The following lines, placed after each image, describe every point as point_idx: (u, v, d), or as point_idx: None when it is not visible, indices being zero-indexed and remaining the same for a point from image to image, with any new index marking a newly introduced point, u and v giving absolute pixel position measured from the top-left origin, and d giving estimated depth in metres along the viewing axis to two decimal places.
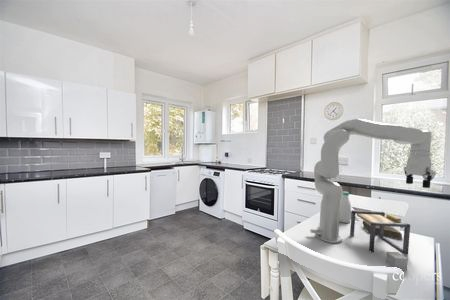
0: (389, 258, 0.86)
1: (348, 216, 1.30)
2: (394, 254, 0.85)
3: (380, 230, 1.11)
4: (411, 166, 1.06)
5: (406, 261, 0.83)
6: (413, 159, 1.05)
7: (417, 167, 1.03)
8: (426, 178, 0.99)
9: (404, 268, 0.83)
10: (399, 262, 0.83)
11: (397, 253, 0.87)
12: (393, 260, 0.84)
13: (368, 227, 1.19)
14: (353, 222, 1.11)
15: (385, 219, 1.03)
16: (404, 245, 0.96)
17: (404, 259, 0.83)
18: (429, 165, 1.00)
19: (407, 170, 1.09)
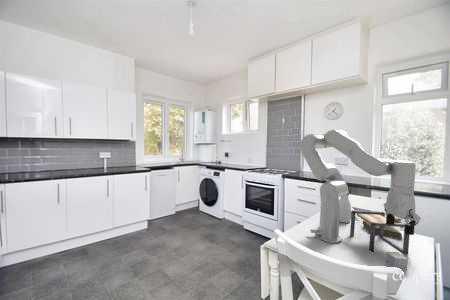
0: (389, 258, 0.86)
1: (348, 216, 1.30)
2: (394, 254, 0.85)
3: (380, 230, 1.11)
4: (391, 204, 0.86)
5: (406, 261, 0.83)
6: (394, 196, 0.84)
7: (398, 207, 0.82)
8: (409, 223, 0.79)
9: (404, 268, 0.83)
10: (399, 262, 0.83)
11: (397, 253, 0.87)
12: (393, 260, 0.84)
13: (368, 227, 1.19)
14: (353, 222, 1.11)
15: (385, 219, 1.03)
16: (404, 245, 0.96)
17: (404, 259, 0.83)
18: (413, 206, 0.79)
19: (387, 208, 0.88)
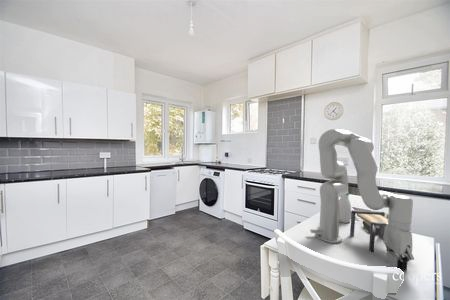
0: (389, 258, 0.86)
1: (348, 216, 1.30)
2: (394, 254, 0.85)
3: (380, 230, 1.11)
4: (389, 238, 0.86)
5: None
6: (391, 230, 0.85)
7: (395, 242, 0.83)
8: (401, 260, 0.81)
9: None
10: None
11: None
12: (393, 260, 0.84)
13: (368, 227, 1.19)
14: (353, 222, 1.11)
15: (385, 219, 1.03)
16: None
17: None
18: (410, 243, 0.80)
19: (384, 241, 0.89)
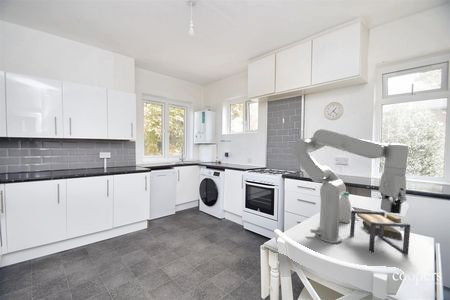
0: (384, 203, 0.91)
1: (348, 216, 1.30)
2: (389, 200, 0.90)
3: (380, 230, 1.11)
4: (384, 185, 0.91)
5: (400, 205, 0.87)
6: (387, 177, 0.89)
7: (390, 187, 0.87)
8: (395, 203, 0.86)
9: None
10: None
11: (392, 199, 0.91)
12: (387, 205, 0.89)
13: (368, 227, 1.19)
14: (353, 222, 1.11)
15: (385, 219, 1.03)
16: (404, 245, 0.96)
17: None
18: (403, 186, 0.84)
19: (380, 189, 0.93)
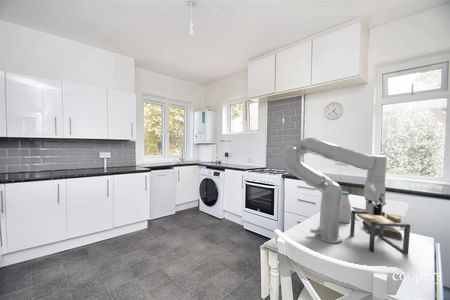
0: (368, 207, 1.04)
1: (348, 216, 1.30)
2: (372, 204, 1.04)
3: (380, 230, 1.11)
4: (367, 191, 1.04)
5: (381, 208, 1.01)
6: (369, 184, 1.03)
7: (372, 193, 1.01)
8: (376, 206, 0.99)
9: None
10: None
11: (374, 203, 1.05)
12: (370, 208, 1.02)
13: (368, 227, 1.19)
14: (353, 222, 1.11)
15: (385, 219, 1.03)
16: (404, 245, 0.96)
17: None
18: (383, 192, 0.98)
19: (364, 194, 1.07)
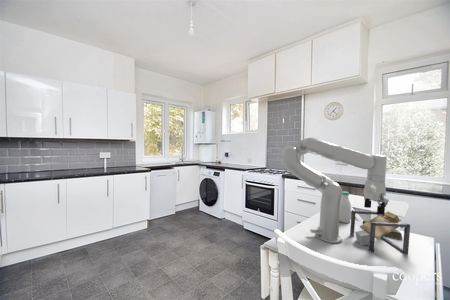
0: None
1: (348, 216, 1.30)
2: (358, 239, 1.05)
3: None
4: (368, 190, 1.04)
5: (363, 236, 1.02)
6: (370, 183, 1.03)
7: (372, 192, 1.01)
8: (380, 204, 0.97)
9: (369, 236, 1.02)
10: (365, 241, 1.02)
11: (356, 234, 1.06)
12: None
13: None
14: (353, 222, 1.11)
15: (385, 221, 1.03)
16: (404, 245, 0.96)
17: (362, 238, 1.02)
18: (383, 191, 0.98)
19: (365, 194, 1.07)
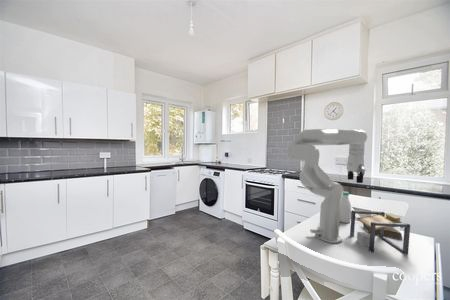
0: None
1: (348, 216, 1.30)
2: (359, 240, 1.05)
3: (380, 230, 1.11)
4: (349, 163, 1.18)
5: (365, 237, 1.02)
6: (351, 157, 1.17)
7: (353, 164, 1.15)
8: (358, 174, 1.11)
9: None
10: (366, 242, 1.02)
11: (358, 234, 1.06)
12: None
13: (368, 227, 1.19)
14: (353, 222, 1.11)
15: (385, 220, 1.03)
16: (404, 245, 0.96)
17: (363, 238, 1.02)
18: (362, 162, 1.12)
19: (347, 167, 1.21)
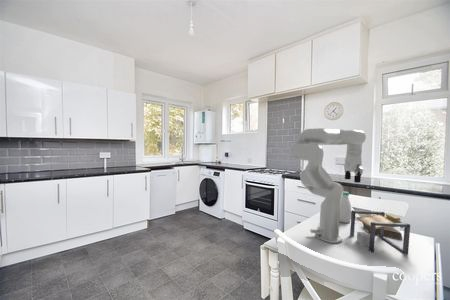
0: None
1: (348, 216, 1.30)
2: (359, 240, 1.05)
3: (380, 230, 1.11)
4: (347, 163, 1.20)
5: (365, 237, 1.02)
6: (348, 157, 1.19)
7: (350, 164, 1.16)
8: (356, 174, 1.13)
9: None
10: (366, 242, 1.02)
11: (358, 234, 1.06)
12: None
13: (368, 227, 1.19)
14: (353, 222, 1.11)
15: (385, 220, 1.03)
16: (404, 245, 0.96)
17: (363, 238, 1.02)
18: (359, 162, 1.14)
19: (345, 167, 1.22)
